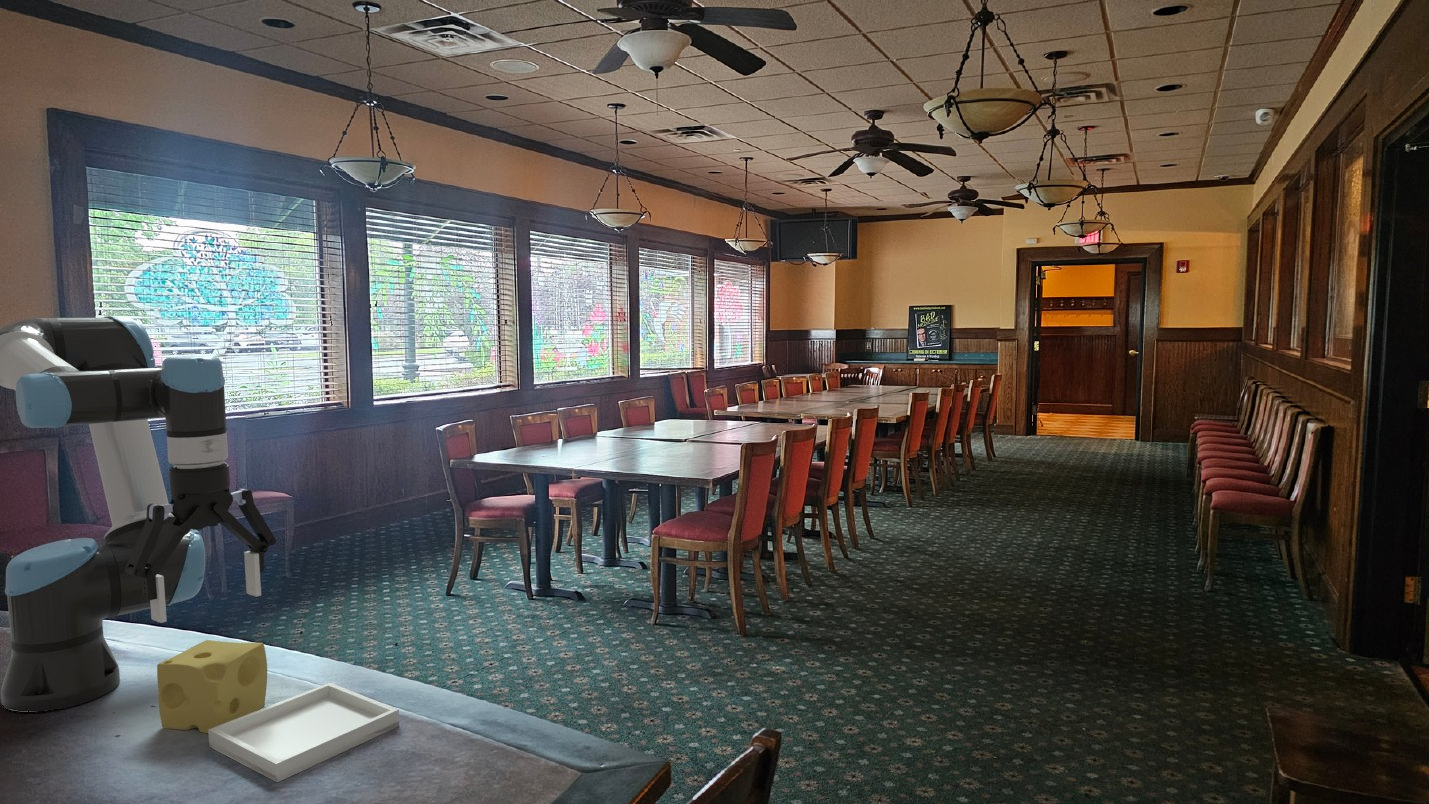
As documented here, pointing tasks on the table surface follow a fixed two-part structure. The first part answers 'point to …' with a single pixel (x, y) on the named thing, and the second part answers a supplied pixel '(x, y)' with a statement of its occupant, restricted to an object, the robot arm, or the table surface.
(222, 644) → the cheese
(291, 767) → the serving tray
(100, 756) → the table surface
